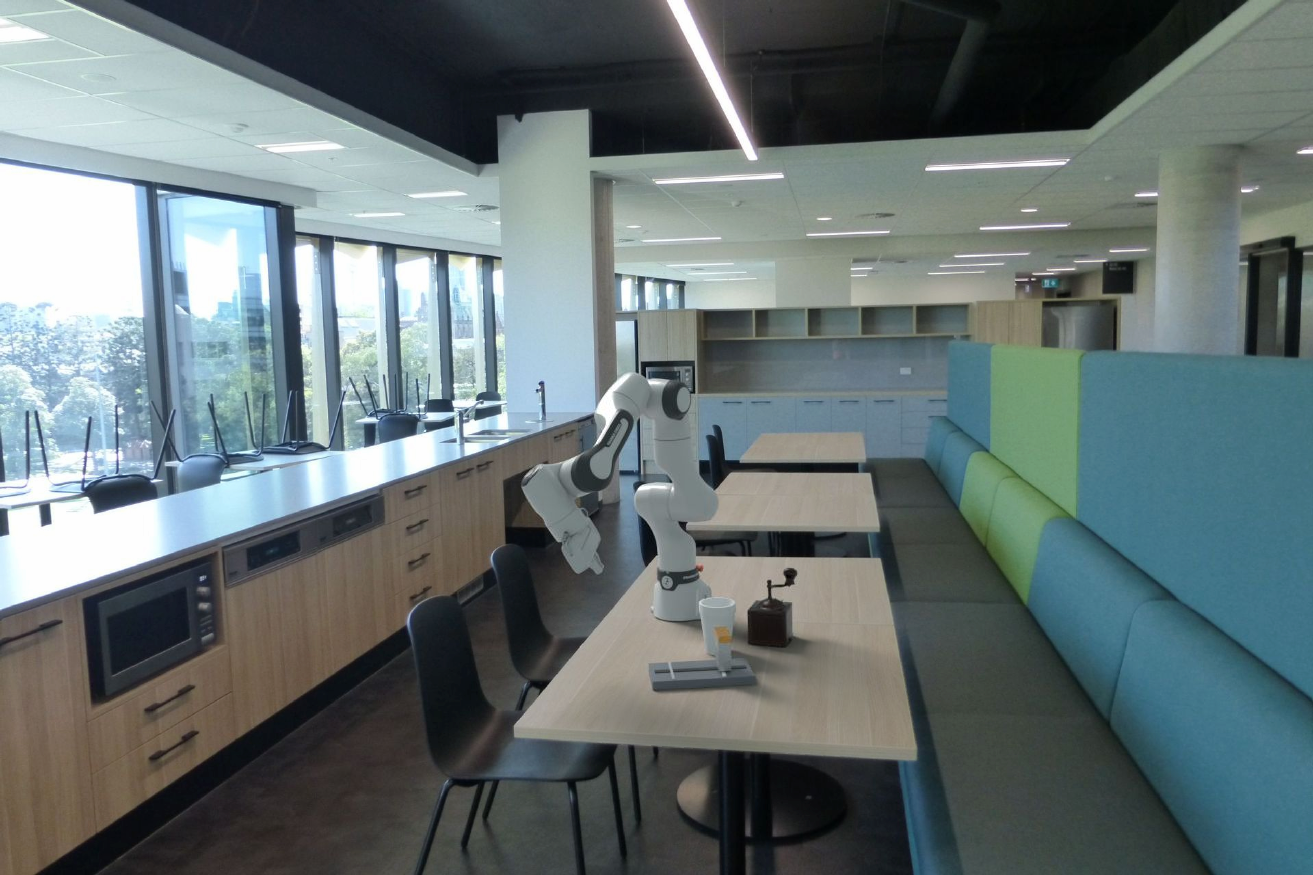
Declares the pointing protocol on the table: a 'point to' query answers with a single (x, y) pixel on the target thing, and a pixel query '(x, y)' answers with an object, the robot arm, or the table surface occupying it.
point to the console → (699, 674)
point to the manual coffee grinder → (772, 617)
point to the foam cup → (716, 618)
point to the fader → (722, 648)
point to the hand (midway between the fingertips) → (600, 571)
